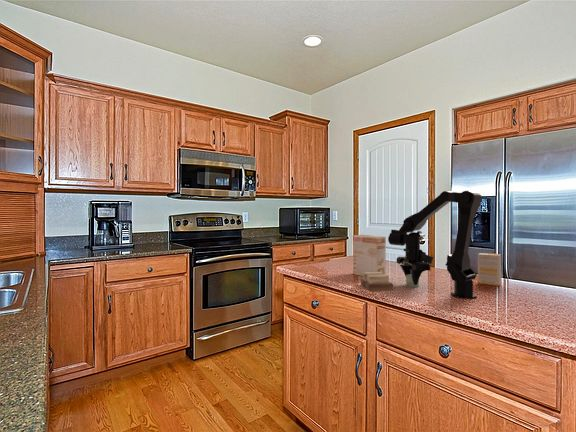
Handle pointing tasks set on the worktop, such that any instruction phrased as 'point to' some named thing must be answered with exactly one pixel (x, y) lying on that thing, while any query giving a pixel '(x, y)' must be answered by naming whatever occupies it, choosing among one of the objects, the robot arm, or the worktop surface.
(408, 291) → the worktop surface
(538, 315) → the worktop surface
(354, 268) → the coffeecake box
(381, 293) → the worktop surface
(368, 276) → the top block
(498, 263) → the supplement box
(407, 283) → the green rounded lump
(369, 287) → the base slab
